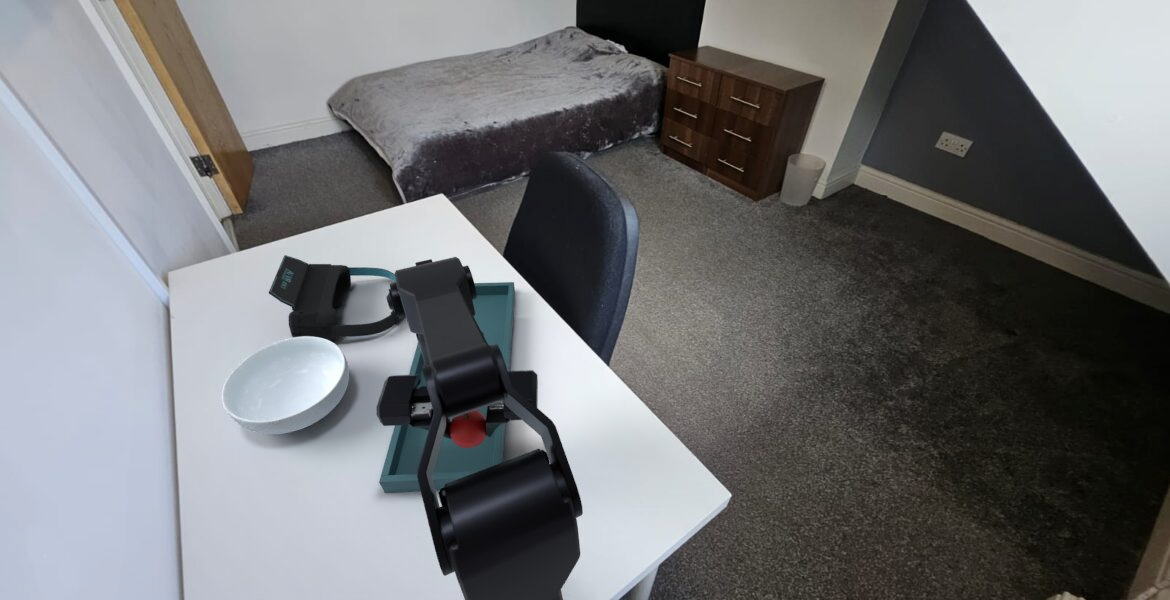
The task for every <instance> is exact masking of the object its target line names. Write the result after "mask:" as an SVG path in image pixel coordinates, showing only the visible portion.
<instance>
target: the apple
mask: <svg viewBox="0 0 1170 600" xmlns="http://www.w3.org/2000/svg"><path fill="white" fill-rule="evenodd" d="M450 436H451V438H452V440H453V441H454V443H455V444H457V445H458V446H460V447H463V448H472V447H475V446H477V445H479V444H480V443H482V442H483V440H484V439H485V438H486V436H487V434H486V417H485V416H484V415H483V414H482V413H481V412H479V411H477V410H475V411H472V412H469V413H466V414H463V415H460V416H457V417H454V418H453V419H452V421H451V424H450Z"/></svg>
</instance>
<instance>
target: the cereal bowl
mask: <svg viewBox="0 0 1170 600" xmlns="http://www.w3.org/2000/svg"><path fill="white" fill-rule="evenodd" d="M349 381H350V367H349V363H348V360H347V358H346V355H345V354H344V352H343V350H342V349H341V348H340V346H339V345H338V344H336V343H334V342H333V341H331V340H330V339H323V338H319V337H311V336H303V337H294V338H293V337H289V338H288V337H287V338H285V339H281V340H278V341H274V342H272V343H270V344H268V345H266V346H263V347H262V348H259V349H258V350H256V351H254V352H253V353H251V354H250V355H249V356H247V357H246V358H244V359H243V360H242V361H241V362H240V363H239V364H238V365H237V366H236V367H235V368H234V369H233V370H232V371H231V372H230V374H229V376H228V377H227V378H226V380H225V382H224V384H223V387H222V391H221V403H222V406H223V409H224V411H225V412H226V413H227V415H228V416H230V418H231V419H233V421H234V422H235V423H237V424H238V425H239V426H241V427H242V428H245V430H246V429H247V430H248V431H250V432H254V433H257V434H262V435H282V434H288V433H294V432H296V431H299V430H302V429H305V428H307V427H309V426H311V425H314V424H315V423H317V422H319V421H320V420H321V419H323V418H325V417H326V416H327V415H328V414H330V413H331V412H332V411H333V410H334V409H335V408H336V406H338V404H339V403H340V402H341V400H342V399H343V397H344V395H345V393H346V391H347V388H348V385H349Z"/></svg>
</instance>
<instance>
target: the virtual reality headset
mask: <svg viewBox="0 0 1170 600" xmlns="http://www.w3.org/2000/svg"><path fill="white" fill-rule="evenodd" d="M351 276H353V277H355V276H356V277H357V276H358V277H359V276H361V277H362V276H366V277H368V276H369V277H381V278H382V277H383V278H387V279H390V280H392V281H393V282H394V283H395V282H396V278H395V272H393V271H390V270H388V269H385V268H381V267H380V268H379V267H367V266H366V267H364V266H363V267H362V266H361V267H359V266H358V267H356V266H355V267H354V266H353V267H351V266H350V267H349V266H348V265H344V264H331V263H308V262H306V261H304V260H301V259H299V258H296V257H293V256H289V255H287V254H285V255H283V258H282V259H281V261H280V265H279V267H278V269H277V272H276V274H275V276H274V279H273V281H272V284H271V286H270V288H269V289H268V294H269V295H270V296H272V297H273V298H275V299H276V300H278V302H280V303H281V304H283V305H284V304H285V305H287V306H289V307H290V308H291V312H289V314H288V328H289V330H290V334H291V338H294V337H303V336H311V337H319V338H323V339H327V340H335V339H339V338H340V337H341V338H343V337H349V338H350V337H365V336H372V335H377V334H380V333H383V332H385V331H387V330H389V329H391V328H392V327H394V326H398V325H399V324H400V323H401V321H402V320H403V319H404V318H399V316H396V313H395V311H393V310H391V312H390V314H389V315H388V316H386V317H384V318H383V319H380V320H377V321H374V322H373V321H372V322H368V323H358V324H338V321H339V320H338V316H337V315H338V314H337V310H336V308H339V307H341V306H342V304H343V302H344V300H345V296H346V294H347V293H348V291H350V289H351V287H352V278H351Z"/></svg>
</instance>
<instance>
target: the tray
mask: <svg viewBox="0 0 1170 600" xmlns="http://www.w3.org/2000/svg"><path fill="white" fill-rule="evenodd" d="M474 284H475V288H476V293H477V299H473V300H472V301H473V305H474V309H475V316H474V318H475V320H476V322H477V324H478V326H479V328H480V330H481V331H482V332H483V333H484V338H485V339H486V341H487V343H488V345H489V346H491V345H494V344H497V345H498V346H499V348H500V351H501V353H502V356H503V358H504V361H505V364H506V367H507V370H508V371H511V370H510V369H511V358H512V357H511V355H512V345H513V343H512V342H513V329H514V316H515V315H514V314H515V301H516V300H515V299H516V288H515V282H514V281H505V282H502V281H501V282H474ZM423 365H425V362H424V359H423V356H422V353H421V349H420V346H419V343H418V342H417V345H416V348H415V351H414V355H413V359H412V362H411V366H410V369H409V374H408V375H418V374H420V377H421V383H420V384H419V385H418V386H417V388H416V389H419V388H420V387H422V386H426V382H425V378H424V374H423V370H422V366H423ZM487 407H488V406H487ZM487 407H484V408H481V409H478V410H477V411H479V412H481V413H482V414H483V415H484V416H485V417H486V416H487ZM452 419H453V418H451V419H450V421H452ZM506 425H507V423H505V424H501V425H500V426H499V427H498V428H497V429H496V430H495V431H494V433H493V434H492V436H491V437H488V436H486V438H485V439H484V440H483V442H482V443H480V444H479V445H477V446H475V447H472V448H463V447H460V446H458V445H457V444H455V443H454V441H453V440H452V439H448V438H446V437H443V439H442V443H441V446H440V450H439V454H438V457H437V461H436V465H435V468H434V472H433V475H432V479H433V483H434V487H435V490H436V491H440V489H441V488H443V487H444V484H447V483H449V482H452V481H455V480H457V479H460V478H463V477H465V476H468V475H471V474H473V473H476V472H478V471H481V470H484V469H486V468H489V467H492V466H494V465H497V464H499V463H502V462H504V453H505V439H506V438H505V437H506ZM427 435H428V430H425V429H422V428H418V427H411V426H410V423H408V424H406V425H396V426H394V427H393V431H392V433H391V438H390V441H389V444H388V448H387V452H386V456H385V459H384V463H383V466H382V470H381V473H380V477H379V481H378V483H379V485H380V487H381V489H382V491H383V492H384V494H389V493H390V494H392V493H408V492H409V493H410V492H411V493H412V492H421V490H420V486H419V482H418V478H417V469H418V466H419V463H420V459H421V456H422V452H423V449H424V445H425V442H426V438H427Z"/></svg>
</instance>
